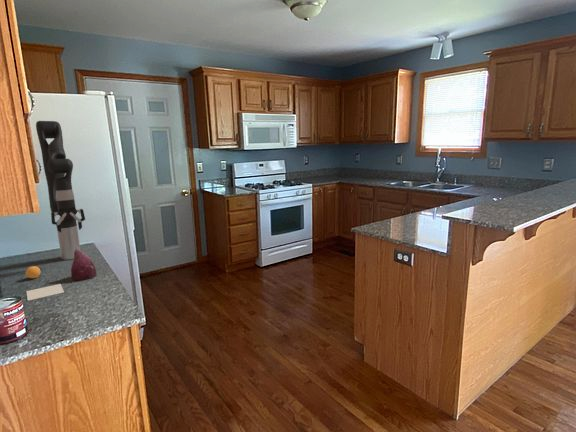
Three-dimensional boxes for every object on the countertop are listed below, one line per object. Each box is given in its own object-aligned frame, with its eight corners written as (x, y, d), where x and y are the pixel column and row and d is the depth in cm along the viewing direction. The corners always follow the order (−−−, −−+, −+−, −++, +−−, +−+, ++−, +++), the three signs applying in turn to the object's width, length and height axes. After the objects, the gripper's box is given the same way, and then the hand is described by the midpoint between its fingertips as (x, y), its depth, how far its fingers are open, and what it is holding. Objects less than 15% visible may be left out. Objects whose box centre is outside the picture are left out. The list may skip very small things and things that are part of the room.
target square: (26, 291, 143) (26, 291, 143) (60, 284, 151) (60, 283, 151) (27, 300, 134) (27, 300, 134) (64, 292, 141) (64, 292, 141)
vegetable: (69, 285, 158) (55, 255, 155) (90, 275, 167) (77, 246, 164) (81, 283, 152) (67, 252, 150) (102, 273, 161) (89, 243, 159)
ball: (26, 277, 160) (24, 266, 159) (40, 275, 163) (39, 263, 162) (26, 281, 156) (24, 269, 154) (41, 278, 159) (39, 266, 158)
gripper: (80, 197, 182) (84, 227, 184) (47, 200, 173) (52, 232, 175) (82, 198, 176) (87, 229, 178) (49, 201, 167) (54, 234, 170)
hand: (70, 230), depth 177 cm, fingers open, 8 cm apart
